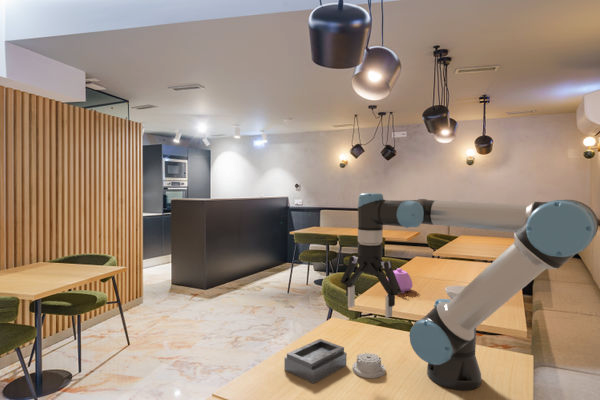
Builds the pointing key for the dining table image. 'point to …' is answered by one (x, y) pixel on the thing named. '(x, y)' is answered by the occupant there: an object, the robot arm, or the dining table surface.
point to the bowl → (454, 290)
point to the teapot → (403, 280)
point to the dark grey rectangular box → (315, 360)
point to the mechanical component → (368, 366)
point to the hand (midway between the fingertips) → (369, 311)
